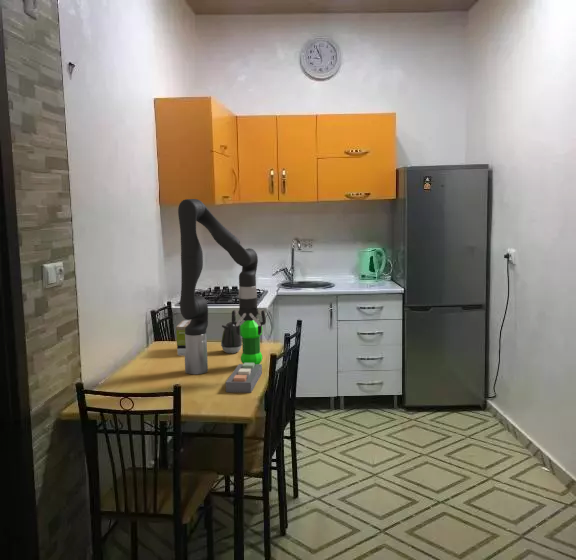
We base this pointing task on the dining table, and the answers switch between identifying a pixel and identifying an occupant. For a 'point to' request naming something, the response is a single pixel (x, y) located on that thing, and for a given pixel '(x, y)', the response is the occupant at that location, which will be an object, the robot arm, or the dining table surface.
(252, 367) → the green button
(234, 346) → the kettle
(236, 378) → the terracotta button
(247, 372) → the cream button
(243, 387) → the button panel
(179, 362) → the dining table surface
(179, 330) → the tea box
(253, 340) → the plastic bottle
